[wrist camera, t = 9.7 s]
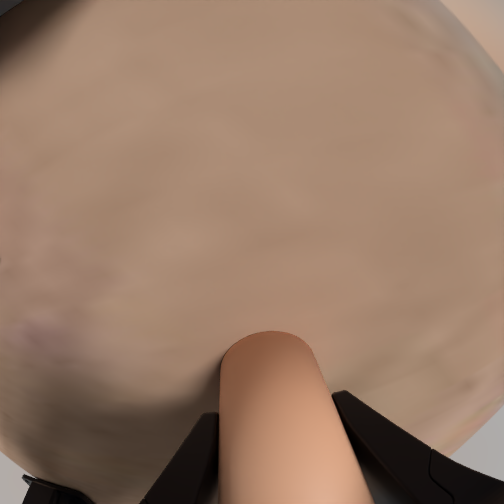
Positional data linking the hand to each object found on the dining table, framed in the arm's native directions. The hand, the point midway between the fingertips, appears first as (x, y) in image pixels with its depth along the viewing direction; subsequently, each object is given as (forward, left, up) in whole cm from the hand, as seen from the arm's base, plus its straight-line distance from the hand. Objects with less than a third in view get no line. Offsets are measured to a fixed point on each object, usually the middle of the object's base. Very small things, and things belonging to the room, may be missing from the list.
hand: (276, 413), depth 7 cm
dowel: (0, 0, -2) cm, 2 cm away
